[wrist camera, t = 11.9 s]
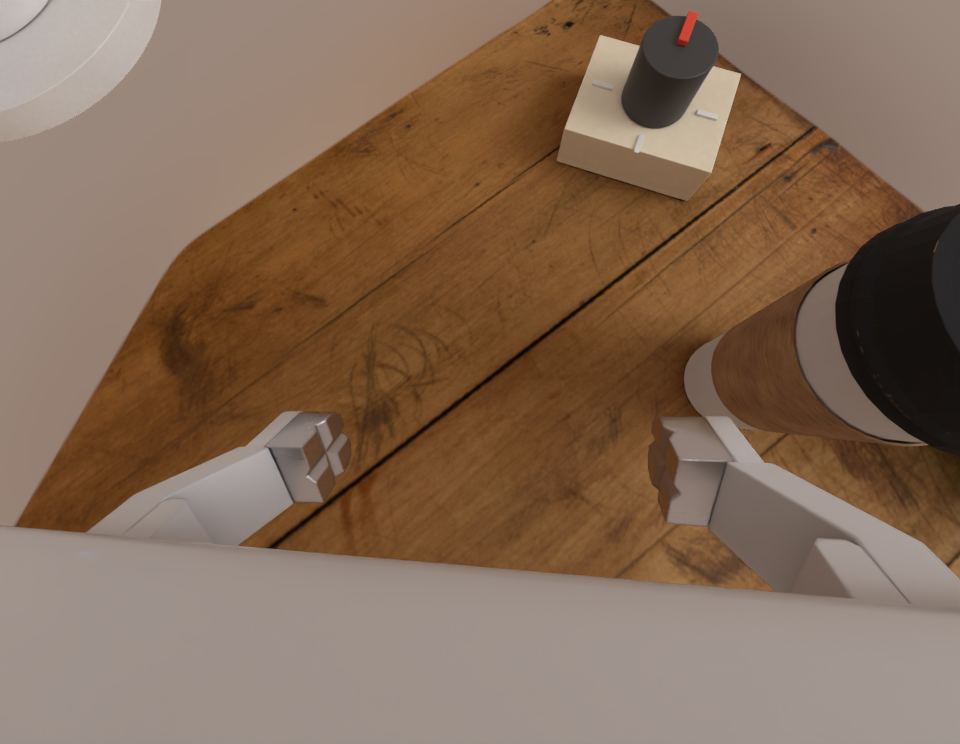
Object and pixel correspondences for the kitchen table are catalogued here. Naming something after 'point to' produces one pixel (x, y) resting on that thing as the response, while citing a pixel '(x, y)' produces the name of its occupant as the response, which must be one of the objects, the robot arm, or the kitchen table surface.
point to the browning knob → (668, 70)
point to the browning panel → (644, 128)
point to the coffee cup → (851, 347)
